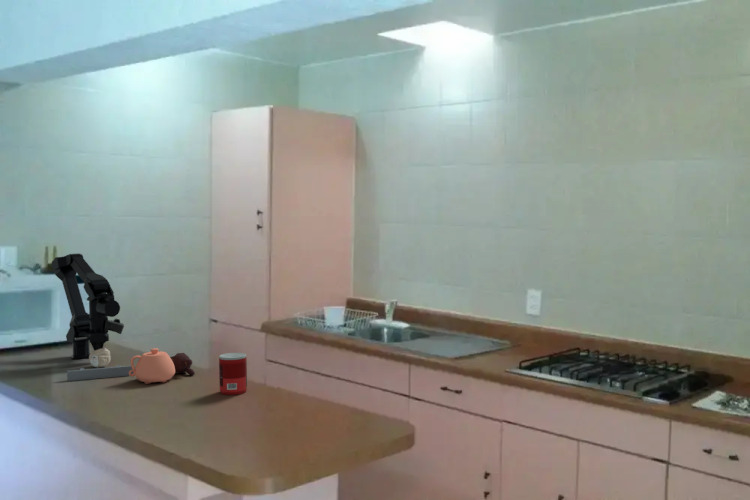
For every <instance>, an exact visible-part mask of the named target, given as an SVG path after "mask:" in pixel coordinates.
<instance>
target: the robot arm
mask: <svg viewBox="0 0 750 500" xmlns="http://www.w3.org/2000/svg"><path fill="white" fill-rule="evenodd" d="M51 269H52V270H53V272H54V275H55V276H56V277H57V278H58V279H59V280H60V281H61V283H62V285H63V289H64V293H65V296H66V300H67V304H68V307H69V310H70V315H71V319H70V322H69V329H68V331H67V333H66V334H65V339H66V342H68V343H72V355H71V360H79V359H89V355H90V354H91V353H92V352H90V351H91V350H90V348H91V347H90V344H91V346H92V349H93V350H94V351H95V350H98V349H102V348H104V346H105V343H106V342H109V341H110V337H109V335H110V334H109V331H110V332H114V333H117V334H118V335H122V333H123V330H124V327H125V324H124V323H123V322H121V320H120V319H119V318H114V319H113V320H110V319H109V318H108V317H110V318H111V317H112V318H113V317H116V316H117V315H118V314H119V313H120V311H121V306H120V303H119V302H118V301H116V300H115V292H114V290H113V288H112V287H111V284H110V282H109V280H108V279H107V278H106V277H105V276H104V275H102V274H99V273H96V272H95V271H94V269H93V268H92V267H91V265H89V264H88V261H86V260H85V258H84V256H83V254H82V253H69V254H66V255H63V256H56V257H54V259H53V260H52V261H51ZM77 275H78V277H79V278H80V279H81V280H82V282H83V283H84V284H83V289H84V291H85V293H86V294H87V296H88V297H87V298H86V301H88V309H89V312H86V309H85V305H84V301H83V297H82V293H81V291H80V288H79V283H78V280H77ZM94 351H93V352H94Z"/></svg>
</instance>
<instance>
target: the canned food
mask: <svg viewBox="0 0 750 500" xmlns="http://www.w3.org/2000/svg"><path fill="white" fill-rule="evenodd" d="M247 362H248V359H247V354H246V353H245V352H244V353H243V352H228V353H222V354H219V355H218V372H219V392H220V394H221V395H224V396H236V395H242V394H244V393H246V392H247V390H248V371H247V370H248V367H247V366H248V363H247Z"/></svg>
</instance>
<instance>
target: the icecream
mask: <svg viewBox="0 0 750 500" xmlns="http://www.w3.org/2000/svg"><path fill="white" fill-rule="evenodd" d="M169 357H170V358H171V360H172V361H173V363H174V366H175V374H182V375H183V374H184V373H185V374H186V373H187V375H189V376H191V377H192V376H193V377H194V375H195V373H196V372H195V371H194V369H193V368H191V367H192V365H193V360H192V359H190V357H189V356H188V354H186V353H185V352H178V353H176V354H174V355H173V356H169Z"/></svg>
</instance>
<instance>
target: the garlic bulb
mask: <svg viewBox="0 0 750 500" xmlns="http://www.w3.org/2000/svg"><path fill="white" fill-rule="evenodd" d="M107 347H108V344H106V345H105V344H104V345H103V348H102V349H98V350H95V351H92V352H90V353H91V354H90V355H89V358H88V361H89V363H90V364H91V366H92V367H94V368H106V367H107V366H108V365H109V363H111V360H112V356H111V351H110V350H109V349H108V348H107Z"/></svg>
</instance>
